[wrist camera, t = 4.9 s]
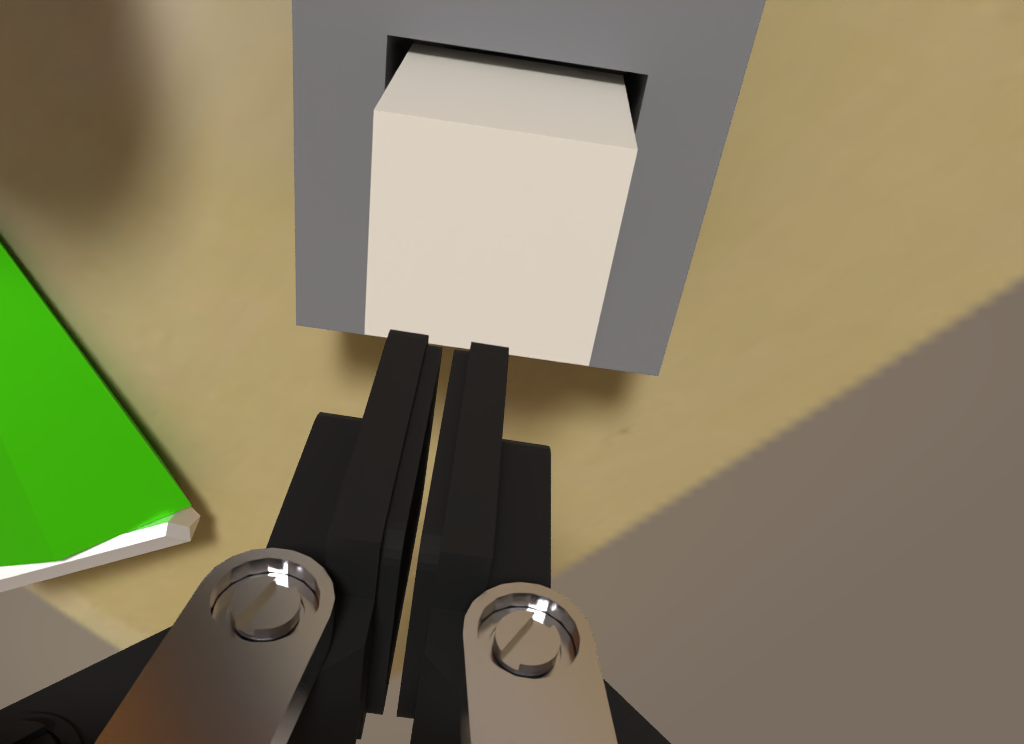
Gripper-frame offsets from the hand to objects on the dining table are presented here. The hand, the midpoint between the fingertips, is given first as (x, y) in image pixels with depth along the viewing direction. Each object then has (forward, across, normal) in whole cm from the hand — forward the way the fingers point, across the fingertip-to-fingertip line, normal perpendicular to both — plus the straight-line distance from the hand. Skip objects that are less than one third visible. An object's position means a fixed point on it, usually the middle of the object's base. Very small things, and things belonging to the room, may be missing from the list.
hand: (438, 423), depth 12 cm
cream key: (+15, 0, +2) cm, 15 cm away
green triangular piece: (+21, +20, +15) cm, 33 cm away
